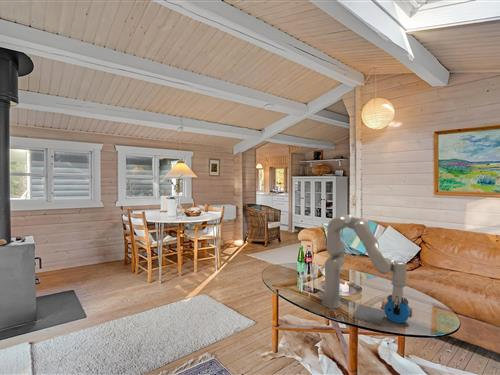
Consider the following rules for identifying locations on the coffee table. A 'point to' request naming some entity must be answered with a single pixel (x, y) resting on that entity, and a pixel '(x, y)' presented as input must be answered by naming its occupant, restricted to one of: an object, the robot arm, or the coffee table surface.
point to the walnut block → (410, 312)
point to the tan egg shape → (384, 303)
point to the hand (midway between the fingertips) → (397, 311)
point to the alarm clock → (403, 310)
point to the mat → (369, 314)
